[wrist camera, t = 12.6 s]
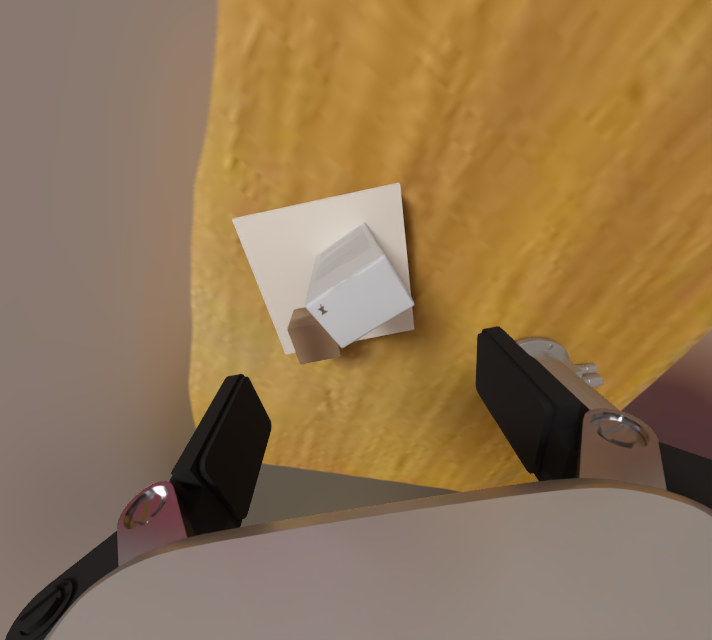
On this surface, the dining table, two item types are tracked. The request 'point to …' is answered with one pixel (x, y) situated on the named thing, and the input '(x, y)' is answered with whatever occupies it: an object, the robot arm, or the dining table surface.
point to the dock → (320, 248)
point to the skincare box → (355, 287)
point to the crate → (311, 338)
